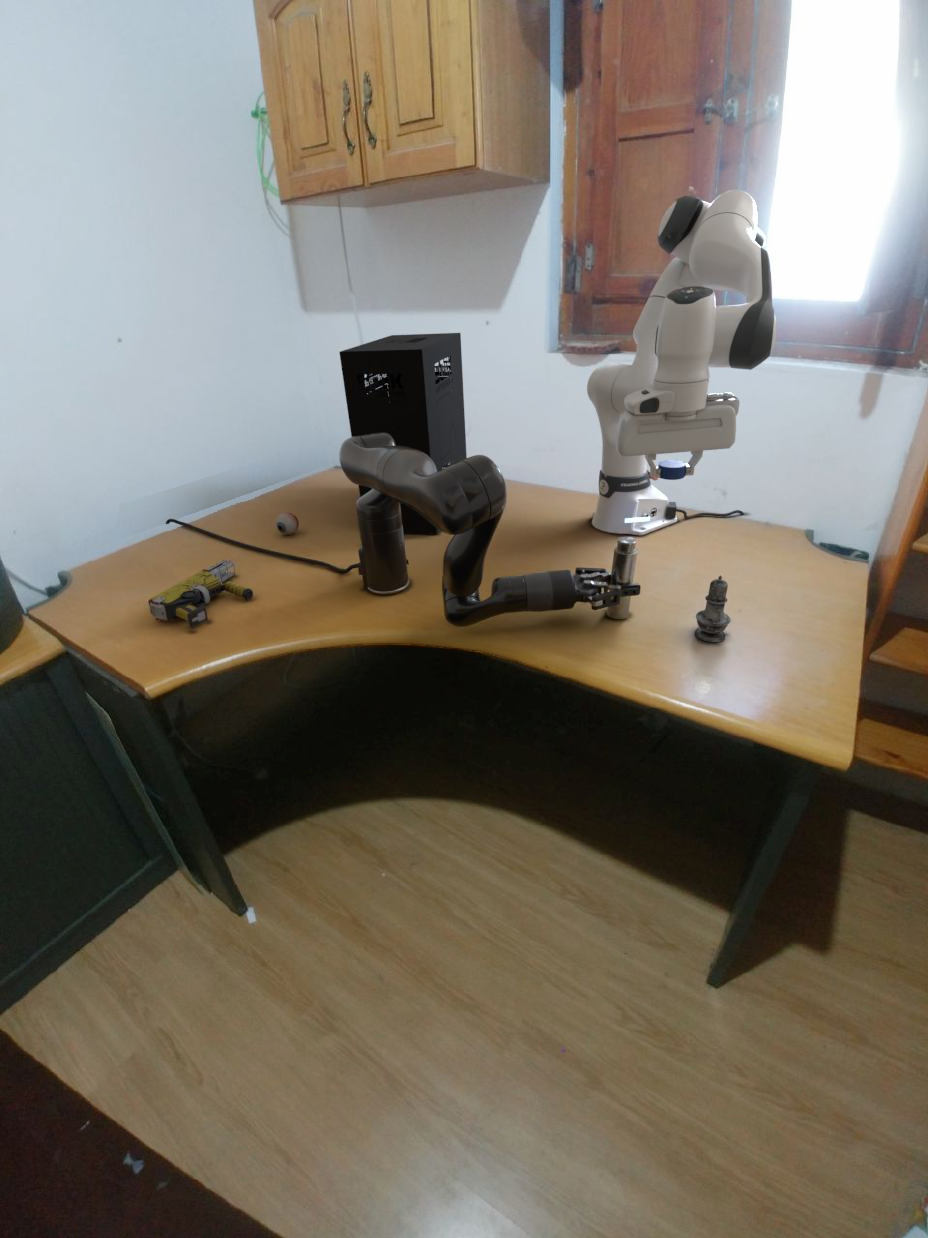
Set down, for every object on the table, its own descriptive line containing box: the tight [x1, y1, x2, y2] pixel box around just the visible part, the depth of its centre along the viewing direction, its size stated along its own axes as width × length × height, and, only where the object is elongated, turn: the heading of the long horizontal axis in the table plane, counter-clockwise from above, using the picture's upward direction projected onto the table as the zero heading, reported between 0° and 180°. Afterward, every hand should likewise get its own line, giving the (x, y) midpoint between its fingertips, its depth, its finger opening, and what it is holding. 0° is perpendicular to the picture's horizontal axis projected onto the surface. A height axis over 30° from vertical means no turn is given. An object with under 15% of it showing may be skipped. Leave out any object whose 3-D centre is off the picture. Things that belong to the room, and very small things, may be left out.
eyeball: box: [275, 511, 300, 536], centre depth 163 cm, size 6×6×6 cm
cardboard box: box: [339, 332, 468, 535], centre depth 166 cm, size 38×20×45 cm, turn 167°
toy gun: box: [148, 558, 254, 629], centre depth 131 cm, size 5×24×15 cm
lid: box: [657, 459, 687, 481], centre depth 109 cm, size 5×5×2 cm
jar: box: [606, 536, 638, 620], centre depth 115 cm, size 4×4×16 cm
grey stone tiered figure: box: [694, 575, 731, 643], centre depth 107 cm, size 6×6×12 cm
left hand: (634, 583), depth 116 cm, fingers closed on jar, 4 cm apart
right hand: (671, 475), depth 109 cm, fingers closed on lid, 4 cm apart
